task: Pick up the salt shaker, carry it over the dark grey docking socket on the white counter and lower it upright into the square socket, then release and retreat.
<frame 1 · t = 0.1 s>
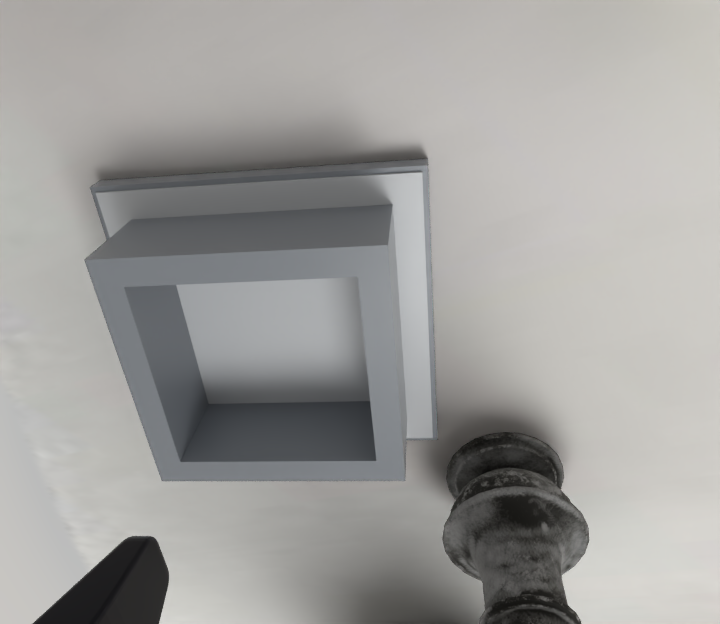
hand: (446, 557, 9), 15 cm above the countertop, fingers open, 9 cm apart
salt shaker: (503, 473, 28), on the countertop
dock: (284, 315, 24), on the countertop
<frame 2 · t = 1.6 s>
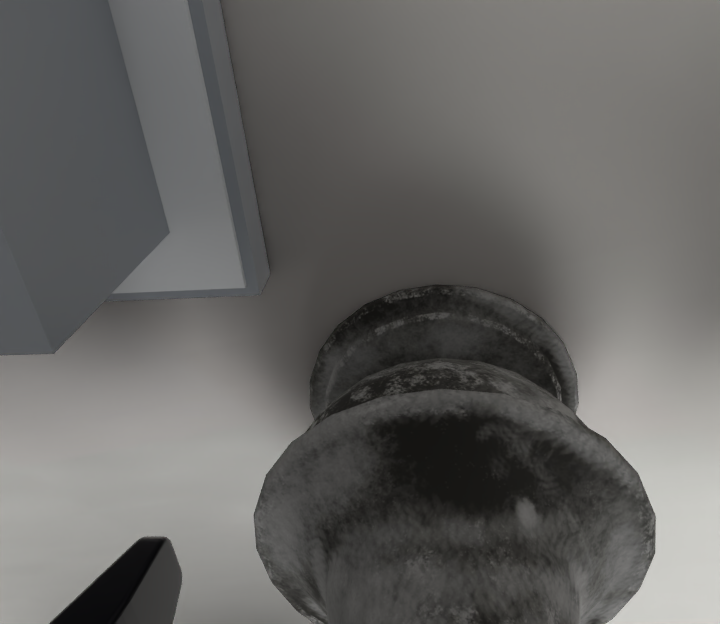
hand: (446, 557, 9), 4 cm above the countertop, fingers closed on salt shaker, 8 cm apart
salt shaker: (440, 395, 12), on the countertop, touching gripper
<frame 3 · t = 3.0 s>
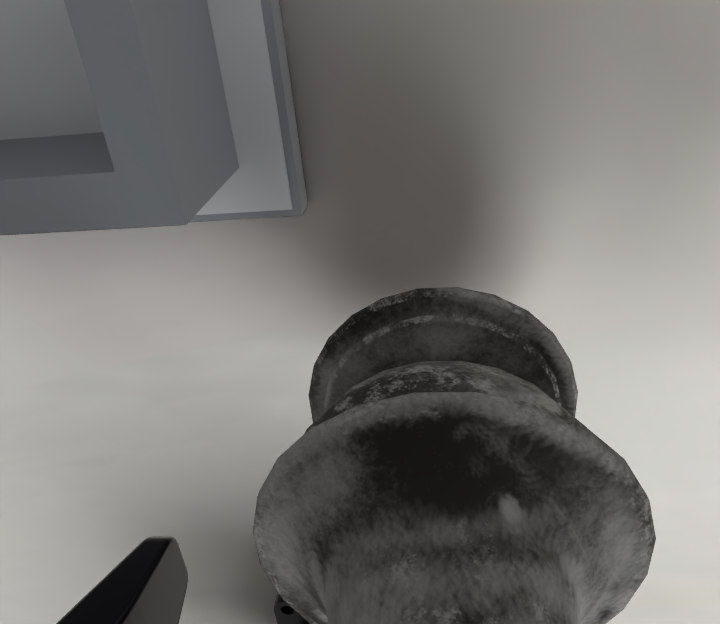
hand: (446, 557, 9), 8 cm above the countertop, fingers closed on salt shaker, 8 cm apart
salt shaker: (439, 397, 12), point 4 cm above the countertop, touching gripper
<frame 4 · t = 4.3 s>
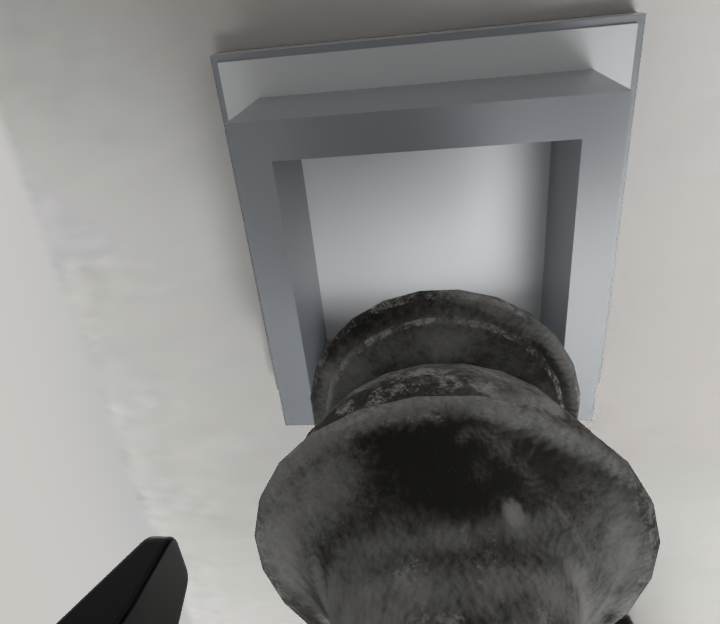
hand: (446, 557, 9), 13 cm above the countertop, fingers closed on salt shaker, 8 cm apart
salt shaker: (441, 399, 12), point 9 cm above the countertop, touching gripper
dock: (426, 228, 20), on the countertop
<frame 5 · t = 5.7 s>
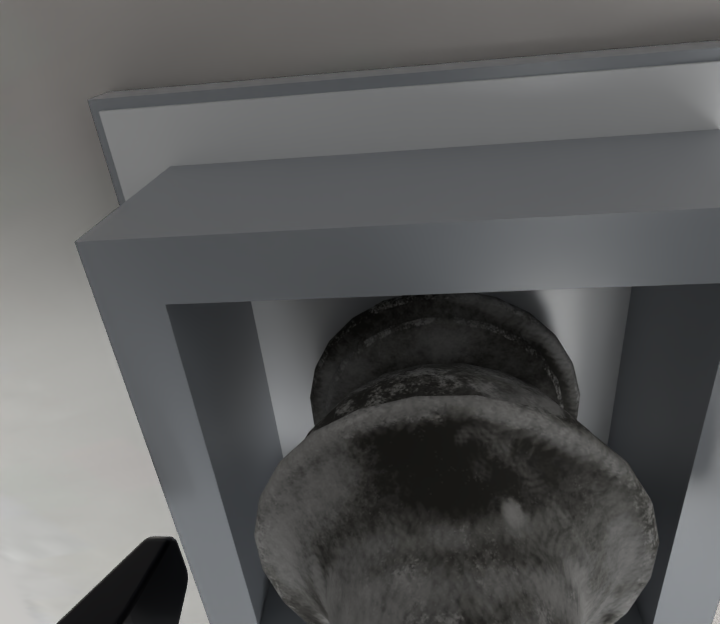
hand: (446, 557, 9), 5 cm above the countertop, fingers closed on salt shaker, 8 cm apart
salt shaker: (441, 399, 12), point 2 cm above the countertop, touching gripper
dock: (435, 347, 13), on the countertop
when the fingers open (5 cm above the countertop, at t = 6.7 s): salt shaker stays where it is, resting on dock.
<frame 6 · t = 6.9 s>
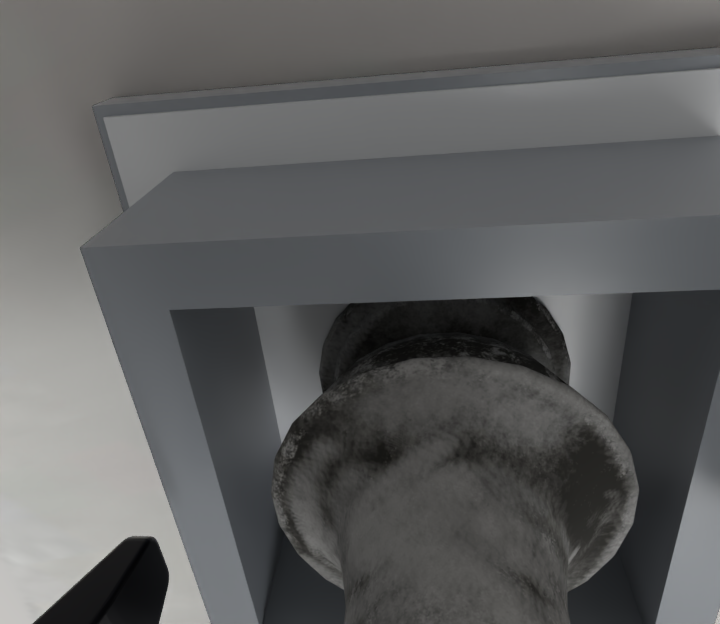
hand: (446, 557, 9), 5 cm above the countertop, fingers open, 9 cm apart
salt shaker: (441, 372, 13), point 1 cm above the countertop, touching dock
dock: (437, 351, 14), on the countertop
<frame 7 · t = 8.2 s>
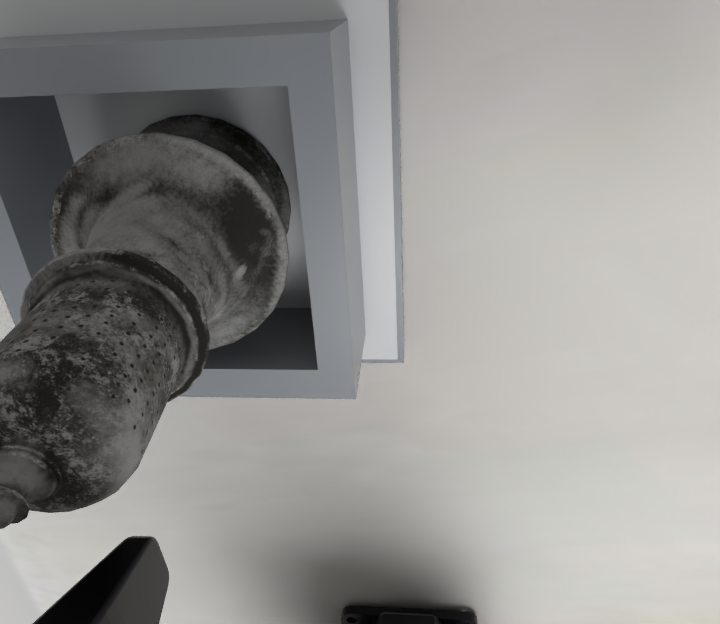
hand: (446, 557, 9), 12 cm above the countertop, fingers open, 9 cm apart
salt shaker: (204, 202, 18), point 1 cm above the countertop, touching dock
dock: (211, 191, 19), on the countertop
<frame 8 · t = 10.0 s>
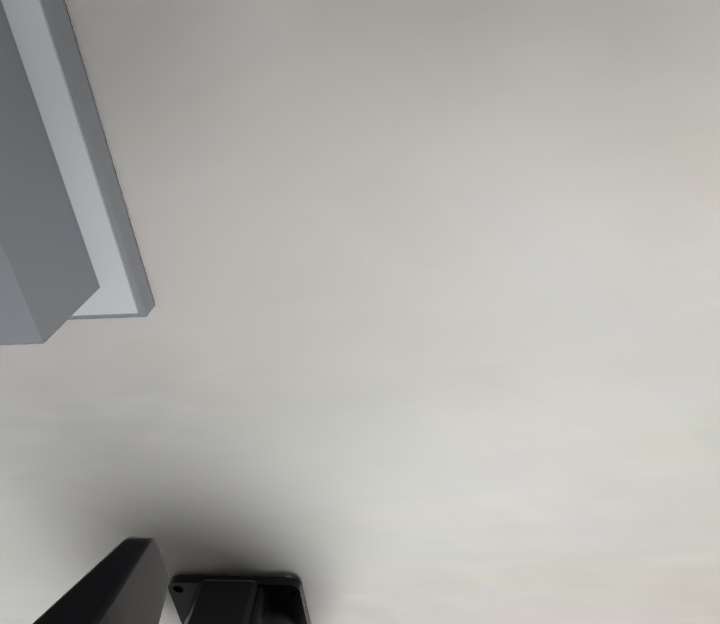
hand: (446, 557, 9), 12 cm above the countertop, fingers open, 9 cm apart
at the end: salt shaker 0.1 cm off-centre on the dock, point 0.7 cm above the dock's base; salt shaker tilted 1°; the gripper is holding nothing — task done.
